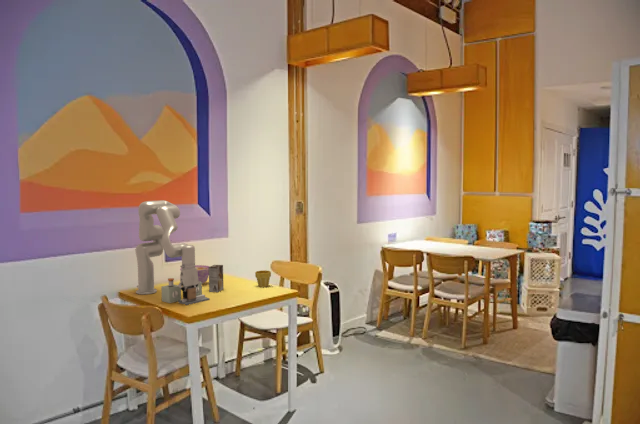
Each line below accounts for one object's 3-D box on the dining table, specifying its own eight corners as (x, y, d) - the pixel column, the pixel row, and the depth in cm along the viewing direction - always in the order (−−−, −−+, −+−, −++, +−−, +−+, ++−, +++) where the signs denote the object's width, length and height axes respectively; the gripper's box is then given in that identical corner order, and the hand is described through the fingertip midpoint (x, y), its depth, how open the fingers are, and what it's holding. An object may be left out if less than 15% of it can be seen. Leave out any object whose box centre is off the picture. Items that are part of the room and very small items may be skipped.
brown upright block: (182, 300, 307) (182, 287, 306) (190, 298, 310) (189, 285, 310) (188, 301, 303) (188, 288, 302) (196, 300, 307) (195, 287, 306)
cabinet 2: (183, 296, 321) (182, 282, 320) (194, 294, 327) (193, 280, 326) (191, 298, 316) (191, 284, 315) (202, 296, 322) (201, 282, 321)
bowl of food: (174, 285, 351) (173, 268, 350) (195, 280, 368) (195, 264, 367) (195, 289, 340) (195, 271, 340) (216, 283, 357) (216, 266, 357)
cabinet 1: (161, 301, 310) (161, 286, 309) (173, 298, 316) (173, 284, 315) (169, 303, 304) (169, 288, 304) (181, 300, 310) (181, 286, 310)
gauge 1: (167, 290, 309) (166, 278, 309) (172, 289, 312) (171, 277, 311) (170, 291, 307) (170, 279, 307) (175, 290, 310) (175, 278, 309)
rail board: (177, 302, 306) (177, 298, 306) (200, 297, 318) (200, 293, 318) (186, 305, 300) (186, 300, 300) (209, 299, 312) (209, 295, 312)
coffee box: (214, 288, 342) (214, 264, 340) (223, 289, 340) (223, 264, 339) (208, 291, 333) (208, 267, 331) (218, 292, 331) (217, 267, 330)
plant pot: (253, 287, 344) (253, 273, 343) (258, 284, 354) (257, 270, 354) (268, 288, 342) (268, 273, 342) (272, 284, 353) (272, 270, 352)
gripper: (179, 269, 296) (180, 300, 298) (204, 264, 309) (205, 295, 310) (172, 267, 301) (173, 298, 302) (196, 263, 314) (197, 293, 315)
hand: (189, 296), depth 306 cm, fingers closed on brown upright block, 5 cm apart
